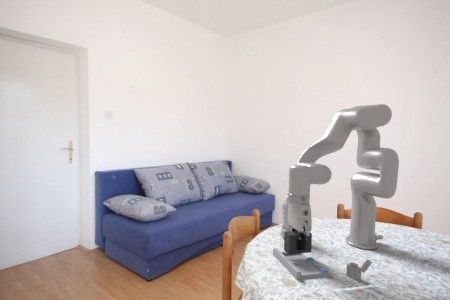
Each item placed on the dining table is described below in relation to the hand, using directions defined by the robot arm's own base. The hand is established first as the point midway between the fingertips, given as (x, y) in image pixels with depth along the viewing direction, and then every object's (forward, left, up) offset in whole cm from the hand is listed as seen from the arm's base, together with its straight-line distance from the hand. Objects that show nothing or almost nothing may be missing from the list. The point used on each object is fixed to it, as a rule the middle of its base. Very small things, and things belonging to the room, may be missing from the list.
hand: (297, 246), depth 99 cm
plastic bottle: (-6, -19, -5) cm, 21 cm away
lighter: (-12, +17, -5) cm, 22 cm away
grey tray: (+2, +4, -5) cm, 7 cm away
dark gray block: (0, 0, -2) cm, 2 cm away
